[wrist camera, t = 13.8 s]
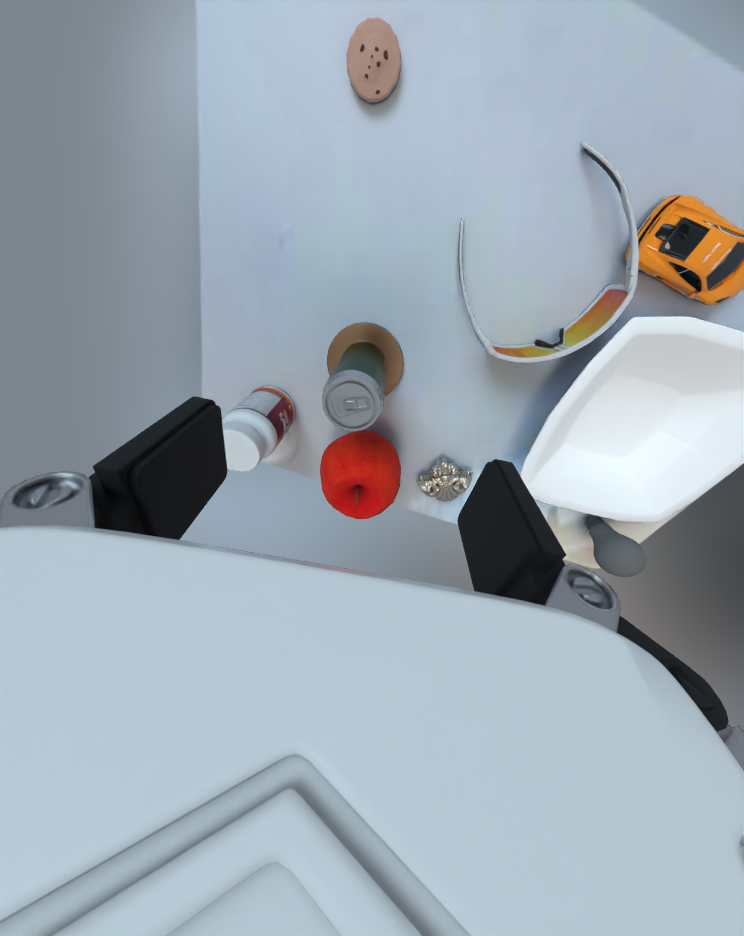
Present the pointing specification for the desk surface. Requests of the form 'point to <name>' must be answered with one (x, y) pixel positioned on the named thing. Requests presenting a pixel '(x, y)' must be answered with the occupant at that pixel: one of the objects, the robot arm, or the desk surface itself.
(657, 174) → the desk surface
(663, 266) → the toy car
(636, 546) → the light bulb
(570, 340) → the sunglasses
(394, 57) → the cookie
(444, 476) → the ornament
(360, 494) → the apple
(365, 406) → the beer can
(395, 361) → the coaster
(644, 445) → the bowl
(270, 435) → the pill bottle
